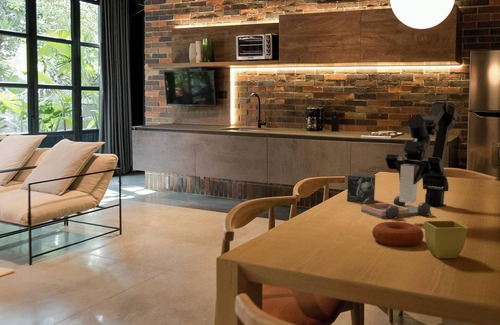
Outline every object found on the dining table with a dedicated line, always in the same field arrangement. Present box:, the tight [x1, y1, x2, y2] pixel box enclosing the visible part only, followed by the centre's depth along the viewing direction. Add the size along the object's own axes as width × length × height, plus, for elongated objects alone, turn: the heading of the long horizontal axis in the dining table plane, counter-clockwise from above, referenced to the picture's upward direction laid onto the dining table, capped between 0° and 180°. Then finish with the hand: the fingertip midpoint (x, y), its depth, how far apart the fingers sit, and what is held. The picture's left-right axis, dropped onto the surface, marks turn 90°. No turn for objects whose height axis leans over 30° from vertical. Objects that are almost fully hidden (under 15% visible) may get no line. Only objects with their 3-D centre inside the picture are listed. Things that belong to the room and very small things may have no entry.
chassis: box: [360, 195, 432, 220], centre depth 209 cm, size 22×15×4 cm
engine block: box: [398, 164, 419, 204], centre depth 194 cm, size 4×4×12 cm
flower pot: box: [423, 220, 468, 259], centre depth 155 cm, size 9×9×9 cm
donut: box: [371, 221, 425, 248], centre depth 170 cm, size 15×15×5 cm
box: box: [346, 173, 376, 203], centre depth 230 cm, size 11×7×10 cm, turn 74°
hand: (407, 182), depth 193 cm, fingers closed on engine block, 4 cm apart
